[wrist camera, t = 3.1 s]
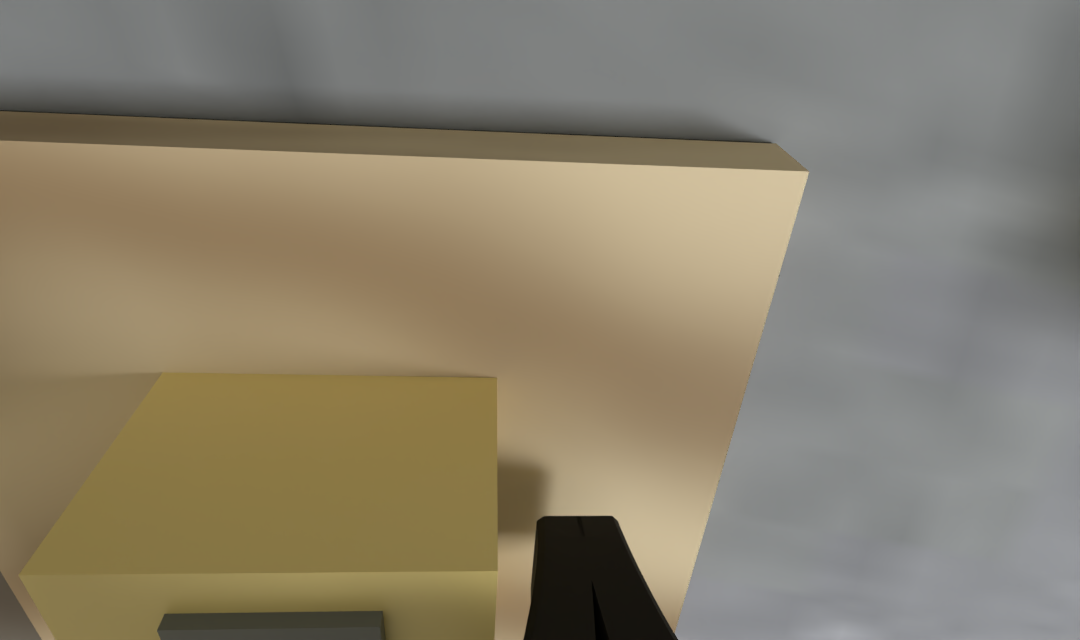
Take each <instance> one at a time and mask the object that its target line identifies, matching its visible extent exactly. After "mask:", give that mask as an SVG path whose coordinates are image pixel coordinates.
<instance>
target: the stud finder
mask: <svg viewBox="0 0 1080 640" xmlns="http://www.w3.org/2000/svg"><path fill="white" fill-rule="evenodd" d="M18 576H19V577H20V579H21V581H22V582H23V584H24V586H25V588H26V589H27V591H28V593H29V595H30V596H31V598H32V600H33V602H34V603H35V605H36V607H37V608H38V610H39V612H40V614H41V615H42V617H43V619H44V621H45V622H46V624H47V626H48V628H49V629H50V631H51V633H52V634H53V636H54V638H55V640H494V638H495V617H496V597H497V576H498V504H497V378H478V377H418V376H358V375H296V374H231V373H166V372H163V373H162V374H161V376H160V377H159V378H158V380H157V381H156V383H155V384H154V385H153V387H152V388H151V390H150V391H149V392H148V394H147V395H146V397H145V398H144V399H143V401H142V402H141V404H140V405H139V406H138V408H137V409H136V411H135V412H134V413H133V415H132V416H131V418H130V419H129V421H128V422H127V423H126V425H125V426H124V428H123V429H122V430H121V432H120V433H119V435H118V436H117V437H116V439H115V440H114V442H113V443H112V444H111V446H110V447H109V449H108V450H107V451H106V453H105V454H104V456H103V457H102V458H101V460H100V461H99V463H98V464H97V465H96V467H95V468H94V470H93V471H92V472H91V474H90V475H89V477H88V478H87V479H86V481H85V482H84V484H83V485H82V486H81V488H80V489H79V491H78V492H77V493H76V495H75V496H74V498H73V499H72V500H71V502H70V503H69V505H68V506H67V508H66V509H65V510H64V512H63V513H62V515H61V516H60V517H59V519H58V520H57V522H56V523H55V524H54V526H53V527H52V529H51V530H50V531H49V533H48V534H47V536H46V537H45V538H44V540H43V541H42V543H41V544H40V545H39V547H38V548H37V550H36V551H35V552H34V554H33V555H32V557H31V558H30V559H29V561H28V562H27V564H26V565H25V566H24V568H23V569H22V571H21V572H20V573H19V575H18Z"/></svg>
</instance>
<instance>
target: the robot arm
mask: <svg viewBox="0 0 1080 640" xmlns="http://www.w3.org/2000/svg"><path fill="white" fill-rule="evenodd" d="M523 640H678V639H677V637H676V636H675V634H674V632H673V630H672V629H671V627H670V625H669V623H668V622H667V620H666V618H665V616H664V615H663V613H662V611H661V609H660V607H659V606H658V604H657V602H656V600H655V598H654V596H653V594H652V593H651V591H650V589H649V587H648V585H647V583H646V581H645V579H644V577H643V575H642V573H641V571H640V569H639V567H638V565H637V563H636V561H635V559H634V557H633V555H632V552H631V550H630V548H629V546H628V544H627V541H626V539H625V537H624V535H623V532H622V530H621V528H620V525H619V523H618V520H616V519H615V518H614V517H613V516H543V517H542V518H540V519H539V520H537V523H536V534H535V545H534V556H533V567H532V578H531V605H530V610H529V614H528V619H527V624H526V629H525V634H524V639H523Z"/></svg>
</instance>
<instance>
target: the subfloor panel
mask: <svg viewBox="0 0 1080 640" xmlns="http://www.w3.org/2000/svg"><path fill="white" fill-rule="evenodd" d="M808 174H809V171H808V170H807V169H805V168H804V167H803V166H802V165H801V164H800V163H798V162H797V161H796V160H795V159H794V158H792V157H791V156H790V155H789V154H788V153H787V152H785V151H784V150H783V149H782V148H781V147H779V146H778V145H777V144H772V143H748V142H724V141H700V140H676V139H653V138H629V137H605V136H581V135H557V134H533V133H510V132H486V131H462V130H438V129H414V128H391V127H367V126H343V125H319V124H295V123H271V122H248V121H224V120H200V119H176V118H152V117H128V116H105V115H81V114H57V113H33V112H9V111H0V640H55V638H54V636H53V634H52V633H51V631H50V629H49V628H48V626H47V624H46V622H45V621H44V619H43V617H42V615H41V614H40V612H39V610H38V608H37V607H36V605H35V603H34V602H33V600H32V598H31V596H30V595H29V593H28V591H27V589H26V588H25V586H24V584H23V582H22V581H21V579H20V577H19V576H18V575H19V573H20V572H21V571H22V569H23V568H24V566H25V565H26V564H27V562H28V561H29V559H30V558H31V557H32V555H33V554H34V552H35V551H36V550H37V548H38V547H39V545H40V544H41V543H42V541H43V540H44V538H45V537H46V536H47V534H48V533H49V531H50V530H51V529H52V527H53V526H54V524H55V523H56V522H57V520H58V519H59V517H60V516H61V515H62V513H63V512H64V510H65V509H66V508H67V506H68V505H69V503H70V502H71V500H72V499H73V498H74V496H75V495H76V493H77V492H78V491H79V489H80V488H81V486H82V485H83V484H84V482H85V481H86V479H87V478H88V477H89V475H90V474H91V472H92V471H93V470H94V468H95V467H96V465H97V464H98V463H99V461H100V460H101V458H102V457H103V456H104V454H105V453H106V451H107V450H108V449H109V447H110V446H111V444H112V443H113V442H114V440H115V439H116V437H117V436H118V435H119V433H120V432H121V430H122V429H123V428H124V426H125V425H126V423H127V422H128V421H129V419H130V418H131V416H132V415H133V413H134V412H135V411H136V409H137V408H138V406H139V405H140V404H141V402H142V401H143V399H144V398H145V397H146V395H147V394H148V392H149V391H150V390H151V388H152V387H153V385H154V384H155V383H156V381H157V380H158V378H159V377H160V376H161V374H162V373H163V372H166V373H231V374H296V375H358V376H418V377H478V378H497V504H498V576H497V597H496V617H495V638H494V640H523V639H524V634H525V629H526V624H527V619H528V614H529V610H530V605H531V578H532V567H533V556H534V545H535V534H536V523H537V520H539V519H540V518H542V517H543V516H613V517H614V518H615V519H616V520H618V523H619V525H620V528H621V530H622V532H623V535H624V537H625V539H626V541H627V544H628V546H629V548H630V550H631V552H632V555H633V557H634V559H635V561H636V563H637V565H638V567H639V569H640V571H641V573H642V575H643V577H644V579H645V581H646V583H647V585H648V587H649V589H650V591H651V593H652V594H653V596H654V598H655V600H656V602H657V604H658V606H659V607H660V609H661V611H662V613H663V615H664V616H665V618H666V620H667V622H668V623H669V625H670V627H671V629H672V630H673V632H674V633H675V630H676V626H677V623H678V619H679V616H680V612H681V609H682V606H683V602H684V599H685V595H686V592H687V589H688V585H689V582H690V578H691V575H692V571H693V568H694V565H695V561H696V558H697V554H698V551H699V547H700V544H701V541H702V537H703V534H704V530H705V527H706V523H707V520H708V517H709V513H710V510H711V506H712V503H713V499H714V496H715V493H716V489H717V486H718V482H719V479H720V475H721V472H722V469H723V465H724V462H725V458H726V455H727V451H728V448H729V445H730V441H731V438H732V434H733V431H734V427H735V424H736V421H737V417H738V414H739V410H740V407H741V403H742V400H743V397H744V393H745V390H746V386H747V383H748V379H749V376H750V373H751V369H752V366H753V362H754V359H755V355H756V352H757V349H758V345H759V342H760V338H761V335H762V332H763V328H764V325H765V321H766V318H767V314H768V311H769V308H770V304H771V301H772V297H773V294H774V290H775V287H776V284H777V280H778V277H779V273H780V270H781V266H782V263H783V260H784V256H785V253H786V249H787V246H788V242H789V239H790V236H791V232H792V229H793V225H794V222H795V218H796V215H797V212H798V208H799V205H800V201H801V198H802V194H803V191H804V188H805V184H806V181H807V177H808Z"/></svg>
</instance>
